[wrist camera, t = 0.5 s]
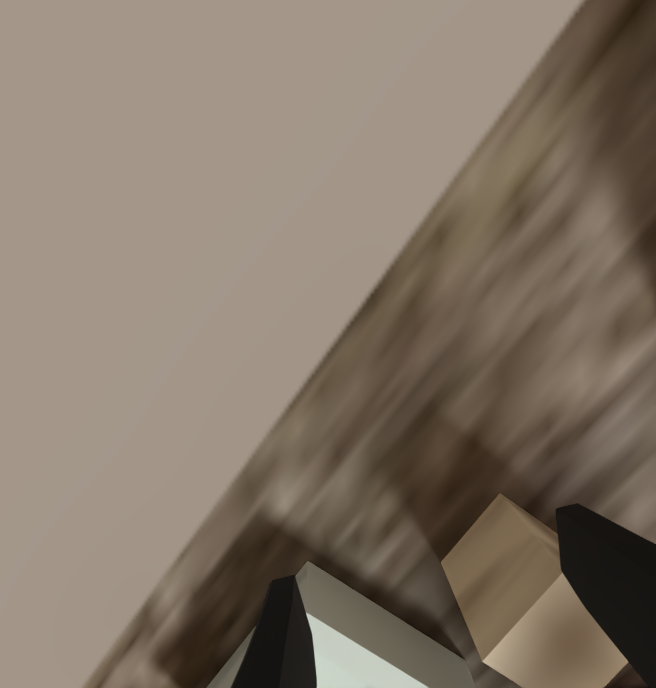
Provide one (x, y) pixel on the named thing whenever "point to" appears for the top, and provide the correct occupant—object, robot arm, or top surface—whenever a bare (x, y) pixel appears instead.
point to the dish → (362, 643)
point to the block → (526, 604)
